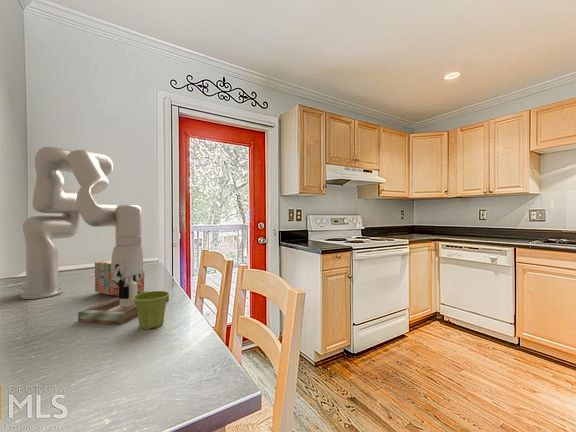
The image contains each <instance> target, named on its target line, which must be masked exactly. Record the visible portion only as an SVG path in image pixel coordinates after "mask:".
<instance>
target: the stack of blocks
mask: <svg viewBox="0 0 576 432" xmlns="http://www.w3.org/2000/svg"><path fill="white" fill-rule="evenodd" d="M111 261H112V259H108V260H102V261H101V260H100V261H95V262H94V284H95V285H94V292H95V293H99V294H103V295H110V296H116V297H119V287H118V286H117V284H116V283H115V282H113V281H112V280H111V279H112V277H111ZM122 280H123V281H124V279H122ZM138 291H145V270H143V273H142V275H141V276H140V278H139V282H138Z"/></svg>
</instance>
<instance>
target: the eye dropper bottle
mask: <svg viewBox="0 0 576 432" xmlns="http://www.w3.org/2000/svg"><path fill="white" fill-rule="evenodd" d="M127 286H129V298H128V299H120V306H121V307H129V306H131V305H134V304H135V302H134V300H133V297H134V296H135V295H137V283H136V282H135V281H133V276H130V277H128V284H127Z"/></svg>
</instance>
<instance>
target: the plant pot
mask: <svg viewBox="0 0 576 432" xmlns="http://www.w3.org/2000/svg"><path fill="white" fill-rule="evenodd" d="M150 291H151V292H145V293H140V294H137V295H135V296H134V297H133V300H134V302H135V305H136V308H137V314H138V316H137V320H138V325H139V328H140V329H142V330H150V329H152V328H153V329H154V328H155V329H156V328H159V327H161V326H163V325H164V321H165V314H166V313H165V312H166V305H167V302H168V301H167V298H168V296H169V297H170V292H169V291H165V290H162V291H161V290H153V291H152V290H150Z"/></svg>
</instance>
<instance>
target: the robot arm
mask: <svg viewBox="0 0 576 432" xmlns="http://www.w3.org/2000/svg"><path fill="white" fill-rule="evenodd" d="M34 168H35V175H36V177H35V178H36V179H35V185H34V189H33V190H34V191H33V195H32V208H33V210H34V211H36V212H38V213H42V214H61V215H33V216H31V217H28V218H26V219H24V222H23V223H22V232H23V234H24V235H23V236H24V239H25V240H24V242H25V250H26V251H25V258H26V259H25V260H26V261H25V266H26V267H25V268H26V269H25V271H26V272H25V274H26V275H25V277H26V279H25V281H26V282H25V283H24V285H21V286H20V291H21V290H22V291H24V293H22V294H20V298H21V299H23V300H37V299H44V298H49V297H54V296H58V295H60V294H62V293H64V290H63V288H59V249H58V247H57V246H56V244H55V243H54V242H53V241H52V240H55V239H68V238H74V237H75V235H76V234H77V233H78V230H79V226H80V220H81V218H82V219H83V221H84V222H85V224H87V225H88V226H90V227H93V228H94V227H95V228H97V227H98V228H99V227H100V228H101V227H102V228H103V227H104V228H105V227H115V246H114V247H113V250H112V255H111V260H112V261H111V277H112V279H111V280H112V281H113V282H115V283H116V284H117V286H118V287H119V296H118V297H119V299H128V298H129V286H127V284H128V277H130V276H133V281H135V282H136V283H137V294H138V282H139V278H140V276H141V275H142V273H143V271H144V254H143V245H142V220H143V219H142V218H143V217H142V208H141V206H140V205H135V204H109V203H97V202H96V201H95V199H94V198H93V196H95V195H96V194H99V193H101V192H103V191H105V190H106V189H107V188H108V186H109V179H108V178H107V176H109V175H110V174H112V172H113V169H114V164H113V160H112V159H111V158H110V157H109V156H107V155H106V154H103V153H100V152H95V151H90V150H85V149H75V150H71V149H66V148H61V147H55V146H43V147H40V149H38V150H37V152H36V153H35V156H34ZM62 172H67V173H72V174H73V175H74V178H75V180H76V181H77V182H78V184H79V186H80V188H79V190H78V191H77V192H76V191H71V190H64V186H65V178H64V176H63V174H62ZM122 279H124V281H123V280H122Z"/></svg>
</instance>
